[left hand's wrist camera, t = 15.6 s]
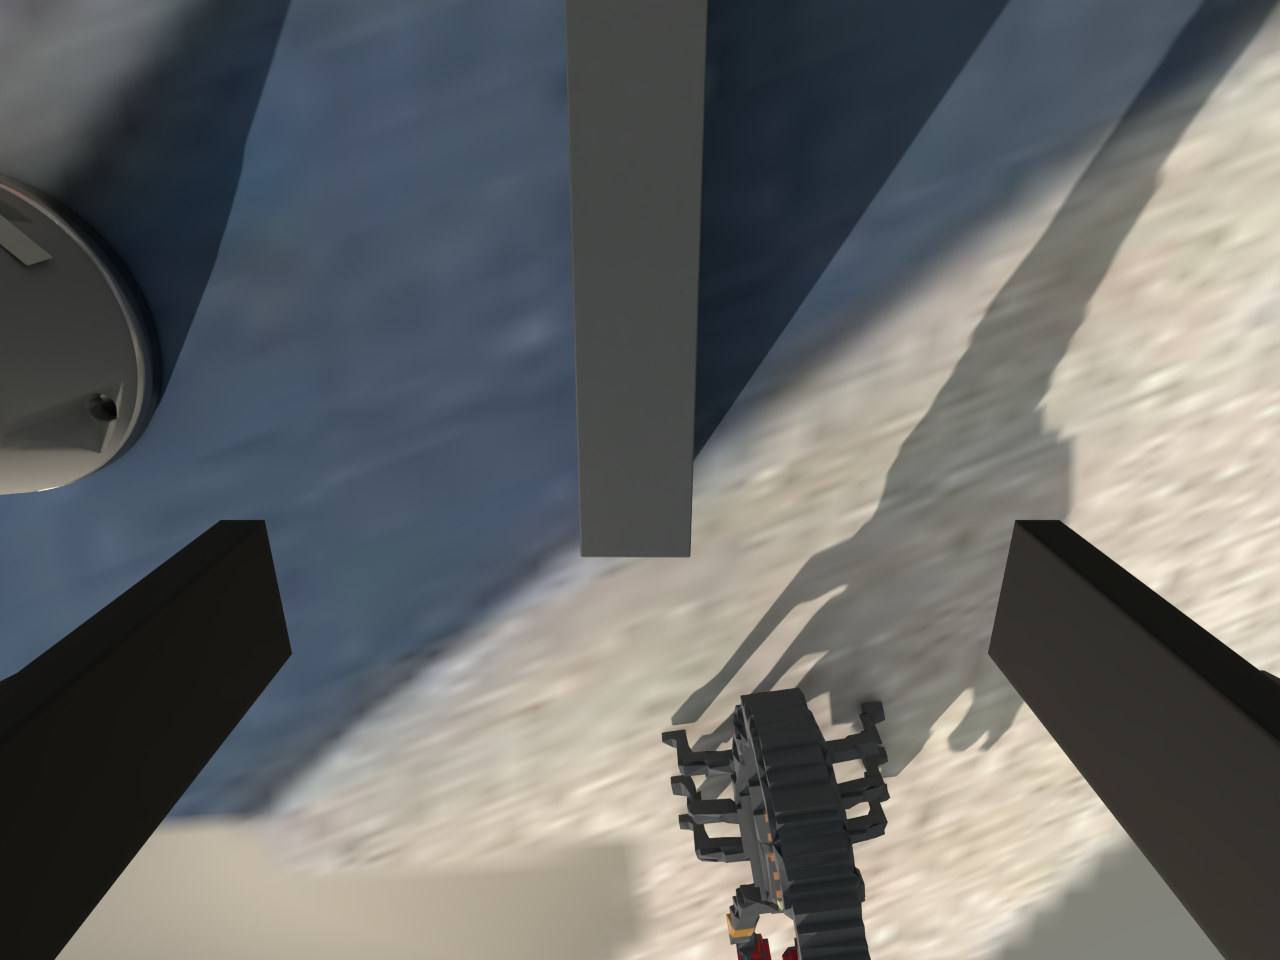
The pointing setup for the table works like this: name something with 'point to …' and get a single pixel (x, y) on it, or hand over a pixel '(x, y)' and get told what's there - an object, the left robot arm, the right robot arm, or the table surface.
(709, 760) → the toy
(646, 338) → the beam
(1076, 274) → the table surface
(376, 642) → the table surface
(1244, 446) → the table surface
